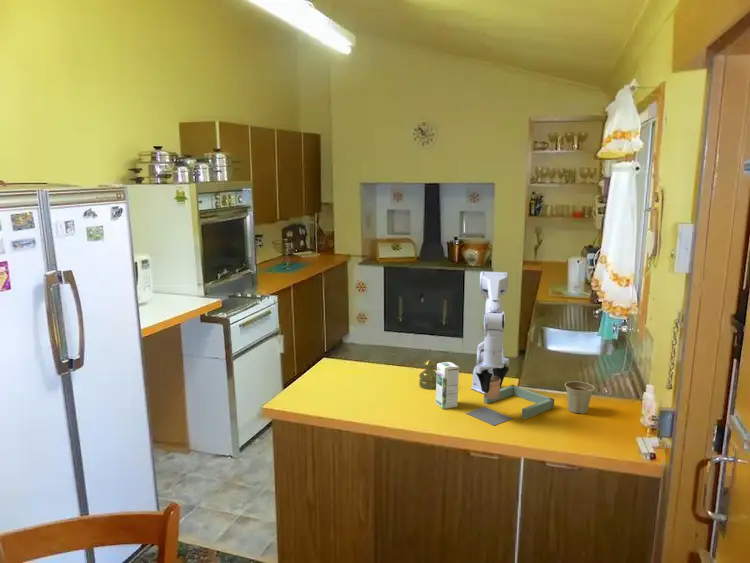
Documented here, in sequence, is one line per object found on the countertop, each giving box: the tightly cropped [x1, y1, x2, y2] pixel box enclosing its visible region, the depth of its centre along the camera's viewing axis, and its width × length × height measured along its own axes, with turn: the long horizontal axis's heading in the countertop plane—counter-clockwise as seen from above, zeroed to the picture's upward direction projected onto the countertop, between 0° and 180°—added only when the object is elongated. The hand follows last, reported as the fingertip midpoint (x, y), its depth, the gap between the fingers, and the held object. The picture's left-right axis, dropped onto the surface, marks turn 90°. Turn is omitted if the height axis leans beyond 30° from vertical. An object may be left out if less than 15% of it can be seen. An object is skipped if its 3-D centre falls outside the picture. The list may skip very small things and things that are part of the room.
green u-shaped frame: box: [483, 384, 555, 420], centre depth 194 cm, size 18×16×3 cm
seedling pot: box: [483, 376, 501, 399], centre depth 183 cm, size 6×6×6 cm
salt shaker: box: [418, 359, 437, 390], centre depth 211 cm, size 7×7×10 cm
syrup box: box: [435, 361, 460, 410], centre depth 192 cm, size 6×6×14 cm
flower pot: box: [564, 380, 596, 415], centre depth 189 cm, size 9×9×9 cm
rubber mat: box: [465, 406, 513, 427], centre depth 185 cm, size 12×9×1 cm
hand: (491, 389), depth 184 cm, fingers closed on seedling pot, 5 cm apart
